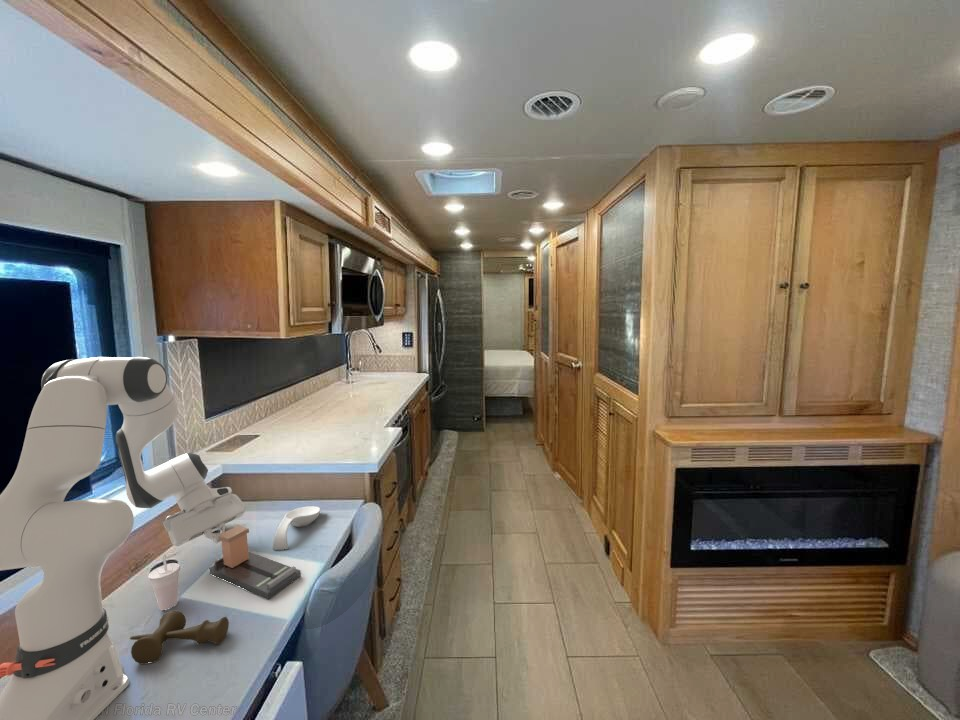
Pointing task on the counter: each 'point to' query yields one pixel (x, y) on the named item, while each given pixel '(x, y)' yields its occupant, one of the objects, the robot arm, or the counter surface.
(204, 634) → the kendama
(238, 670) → the counter surface
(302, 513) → the spoon rest
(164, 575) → the smoothie
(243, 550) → the fader knob
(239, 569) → the fader track
